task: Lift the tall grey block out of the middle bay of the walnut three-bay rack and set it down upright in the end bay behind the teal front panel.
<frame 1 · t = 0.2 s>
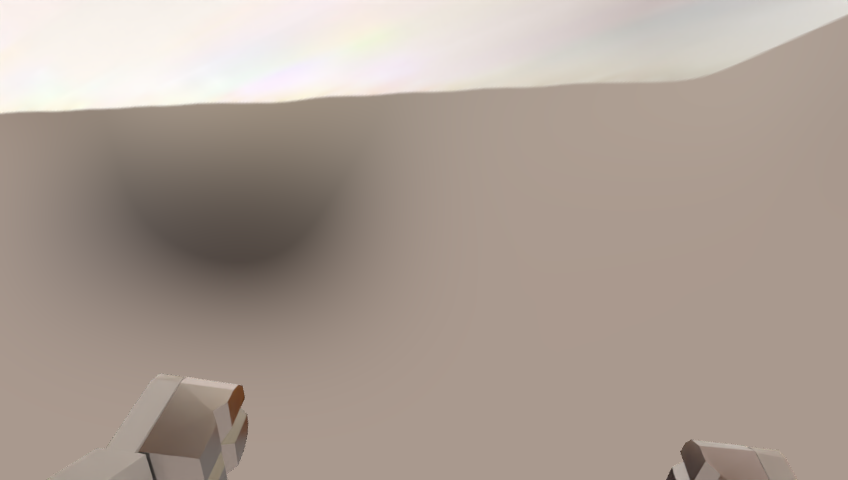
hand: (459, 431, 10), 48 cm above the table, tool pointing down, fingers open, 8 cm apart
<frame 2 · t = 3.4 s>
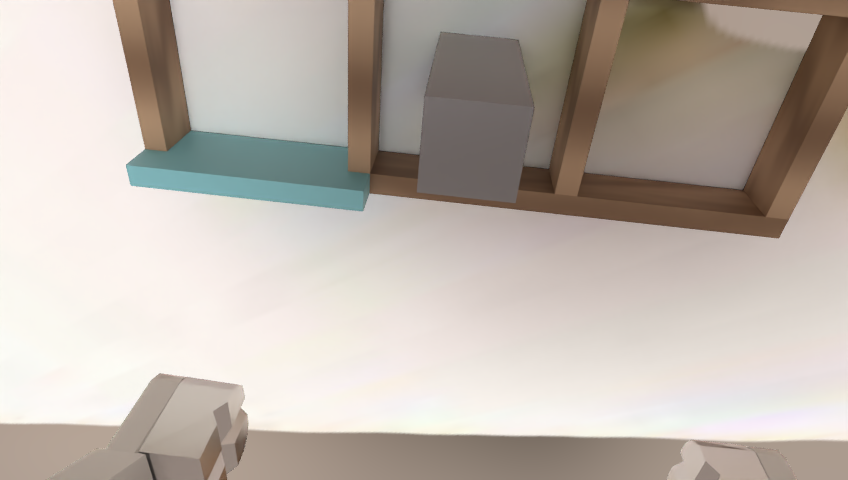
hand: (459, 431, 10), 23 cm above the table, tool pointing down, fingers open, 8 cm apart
rack: (474, 74, 29), on the table
tall grey block: (474, 74, 29), resting in rack
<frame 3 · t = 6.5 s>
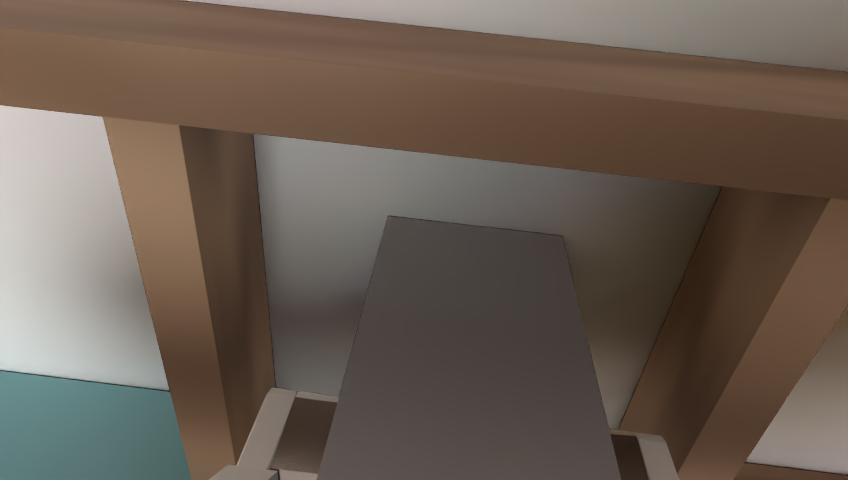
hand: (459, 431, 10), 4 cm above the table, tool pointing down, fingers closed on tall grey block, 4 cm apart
rack: (463, 294, 14), on the table
tall grey block: (463, 294, 14), resting in rack, touching gripper
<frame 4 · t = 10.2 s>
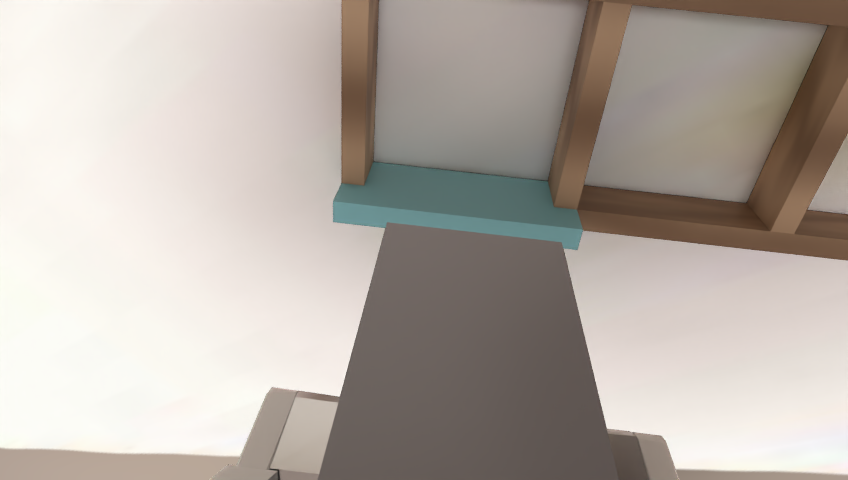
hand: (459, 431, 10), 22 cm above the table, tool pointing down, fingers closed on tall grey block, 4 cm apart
rack: (687, 107, 28), on the table
tall grey block: (463, 300, 14), point 18 cm above the table, touching gripper
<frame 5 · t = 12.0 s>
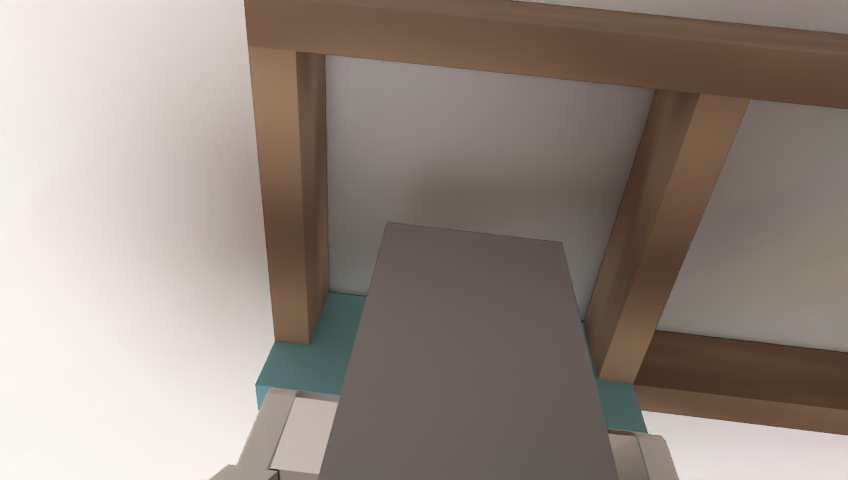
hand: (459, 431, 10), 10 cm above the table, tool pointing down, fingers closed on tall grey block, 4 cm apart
rack: (804, 231, 18), on the table
tall grey block: (463, 300, 14), point 6 cm above the table, touching gripper
when the fingers open (6 cm above the table, at t = 13.8 s): tall grey block drops 2 cm, resting in rack.
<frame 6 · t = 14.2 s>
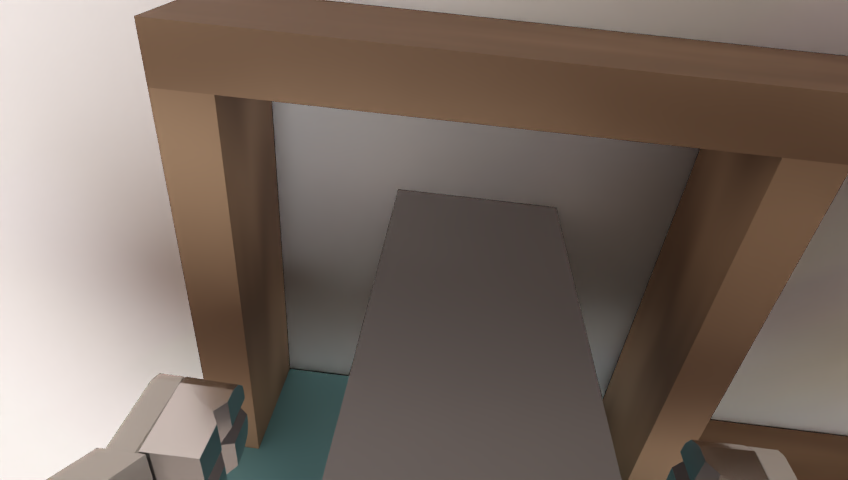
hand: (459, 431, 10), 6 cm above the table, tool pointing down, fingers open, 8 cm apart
tall grey block: (466, 262, 15), resting in rack
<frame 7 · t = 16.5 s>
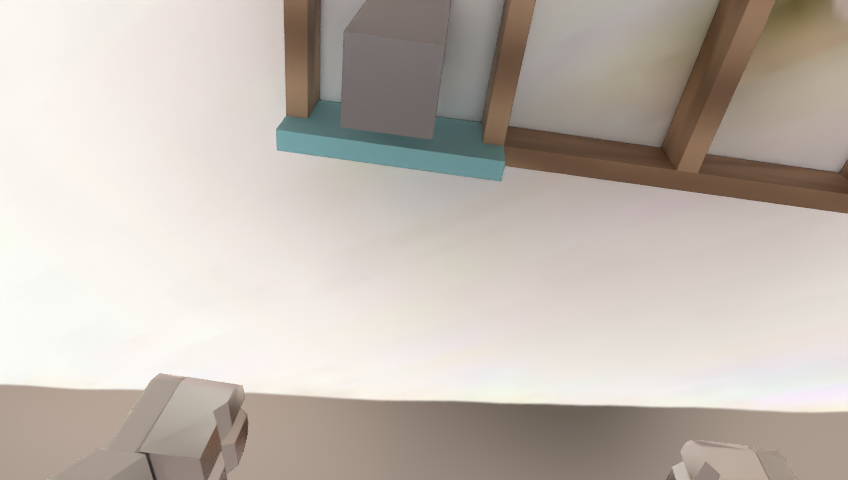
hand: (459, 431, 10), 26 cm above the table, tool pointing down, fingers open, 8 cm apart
rack: (606, 54, 31), on the table
tall grey block: (410, 28, 31), resting in rack
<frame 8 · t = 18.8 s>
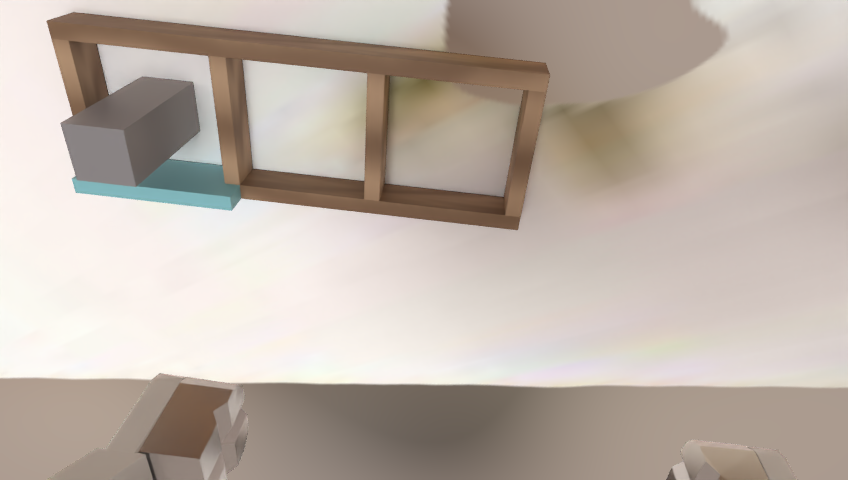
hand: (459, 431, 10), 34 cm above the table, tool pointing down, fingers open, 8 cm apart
rack: (309, 118, 43), on the table
tall grey block: (171, 104, 44), resting in rack
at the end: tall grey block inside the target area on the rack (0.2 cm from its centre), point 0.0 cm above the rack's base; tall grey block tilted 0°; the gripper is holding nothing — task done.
